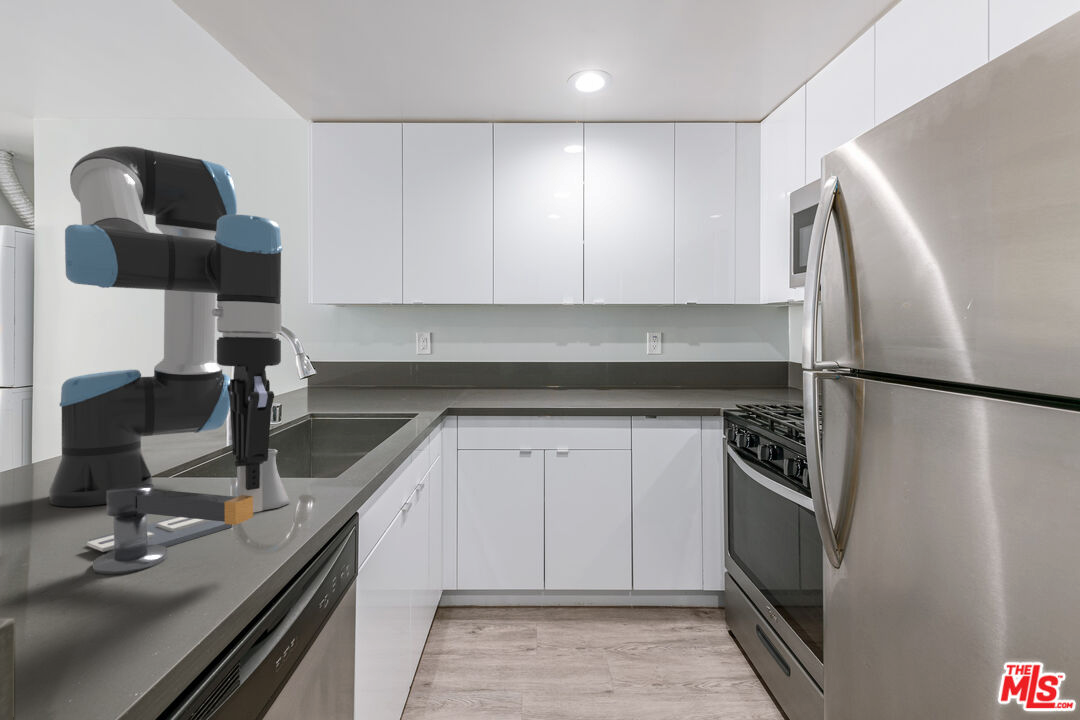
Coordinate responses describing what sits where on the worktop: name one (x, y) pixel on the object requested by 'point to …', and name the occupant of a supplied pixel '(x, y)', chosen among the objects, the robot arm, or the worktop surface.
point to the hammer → (177, 504)
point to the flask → (272, 484)
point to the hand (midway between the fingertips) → (249, 511)
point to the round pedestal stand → (130, 548)
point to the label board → (167, 532)
